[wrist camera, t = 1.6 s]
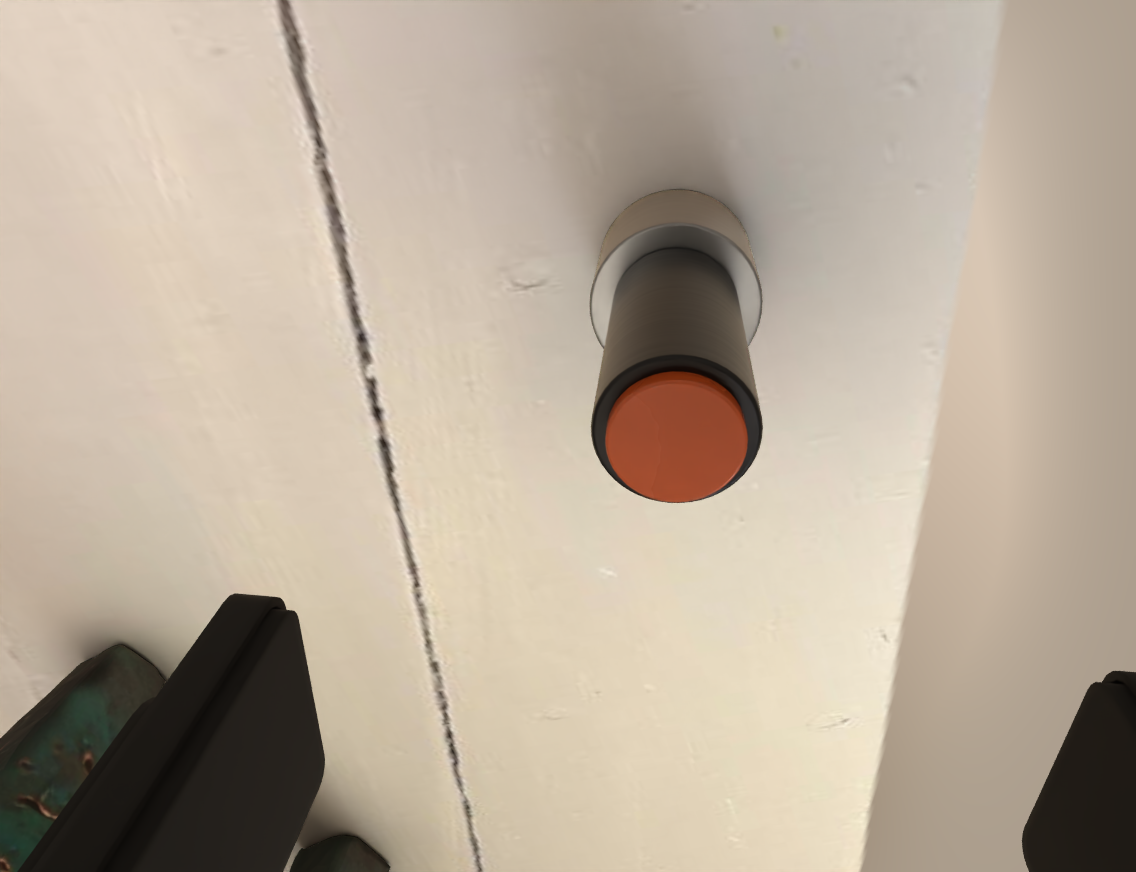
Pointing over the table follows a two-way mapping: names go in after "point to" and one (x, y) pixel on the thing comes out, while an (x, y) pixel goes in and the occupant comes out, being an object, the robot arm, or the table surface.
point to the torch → (676, 348)
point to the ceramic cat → (76, 743)
